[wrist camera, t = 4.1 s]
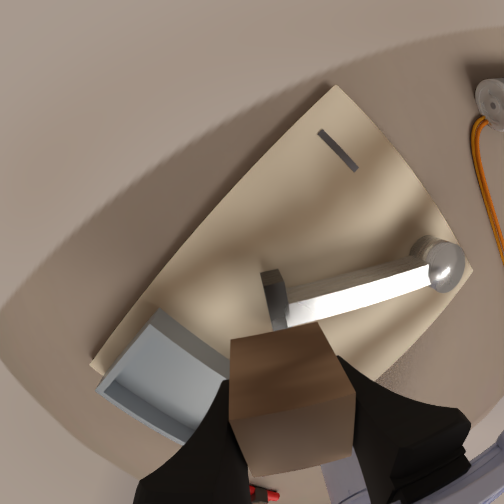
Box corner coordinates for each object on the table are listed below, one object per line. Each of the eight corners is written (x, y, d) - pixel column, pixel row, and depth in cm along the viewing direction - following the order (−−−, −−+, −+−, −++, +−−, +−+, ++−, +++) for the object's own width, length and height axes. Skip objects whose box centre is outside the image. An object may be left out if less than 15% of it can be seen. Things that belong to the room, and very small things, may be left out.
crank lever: (441, 226, 18) (465, 233, 16) (441, 277, 20) (463, 290, 17) (259, 270, 18) (263, 287, 16) (272, 328, 20) (277, 351, 17)
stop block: (317, 321, 12) (355, 392, 8) (322, 384, 13) (351, 456, 9) (230, 339, 12) (228, 420, 8) (247, 400, 13) (253, 477, 9)
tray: (271, 387, 21) (275, 408, 19) (204, 436, 22) (202, 455, 20) (159, 307, 19) (149, 323, 17) (104, 373, 20) (94, 390, 18)
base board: (467, 268, 21) (473, 271, 20) (257, 458, 25) (258, 464, 24) (332, 87, 17) (336, 83, 16) (92, 360, 21) (88, 366, 20)
